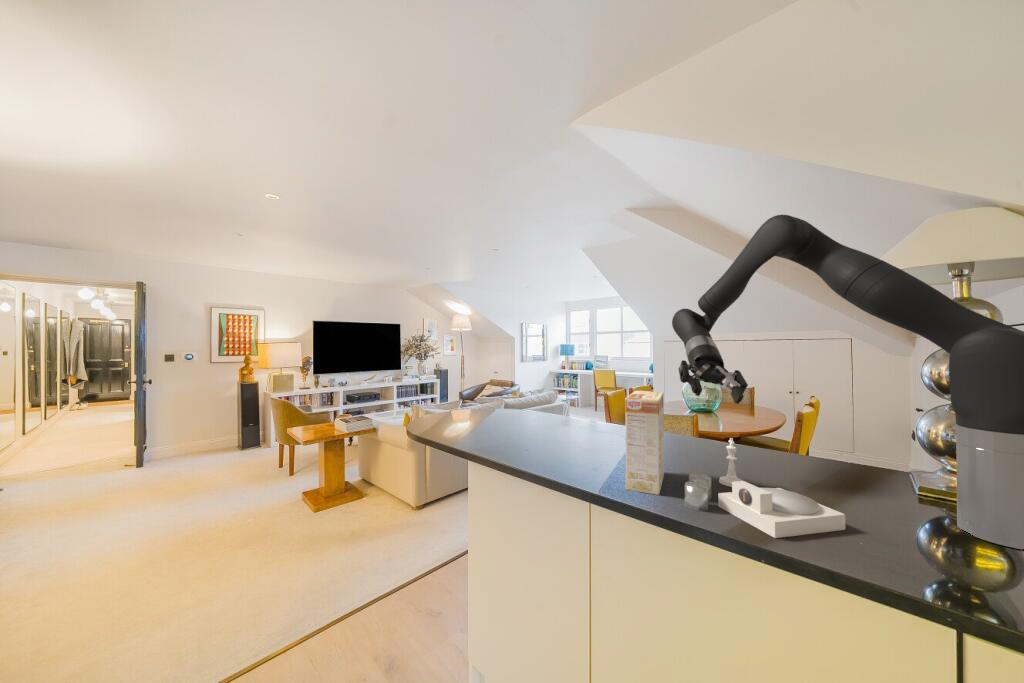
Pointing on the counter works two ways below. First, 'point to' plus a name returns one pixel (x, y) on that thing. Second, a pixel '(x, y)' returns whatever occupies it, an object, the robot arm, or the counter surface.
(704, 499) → the spacer
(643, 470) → the coffeecake box
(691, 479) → the spacer
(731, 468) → the chess piece
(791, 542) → the counter surface
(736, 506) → the scale
